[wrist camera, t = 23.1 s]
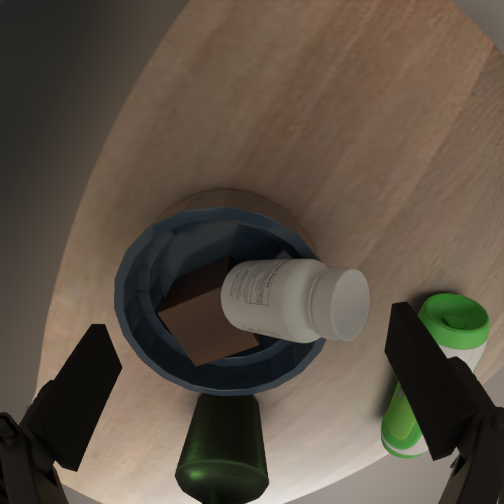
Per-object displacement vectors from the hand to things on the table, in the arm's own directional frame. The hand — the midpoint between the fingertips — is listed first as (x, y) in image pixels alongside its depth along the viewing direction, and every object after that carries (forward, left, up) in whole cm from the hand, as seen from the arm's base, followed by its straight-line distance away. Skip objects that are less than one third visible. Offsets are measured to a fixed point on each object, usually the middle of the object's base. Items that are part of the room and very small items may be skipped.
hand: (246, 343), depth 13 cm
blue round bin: (+2, -2, -11) cm, 12 cm away
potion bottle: (+17, -4, -11) cm, 21 cm away
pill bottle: (+1, 0, -7) cm, 7 cm away
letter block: (+3, -3, -11) cm, 12 cm away
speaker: (+14, +16, -11) cm, 24 cm away
